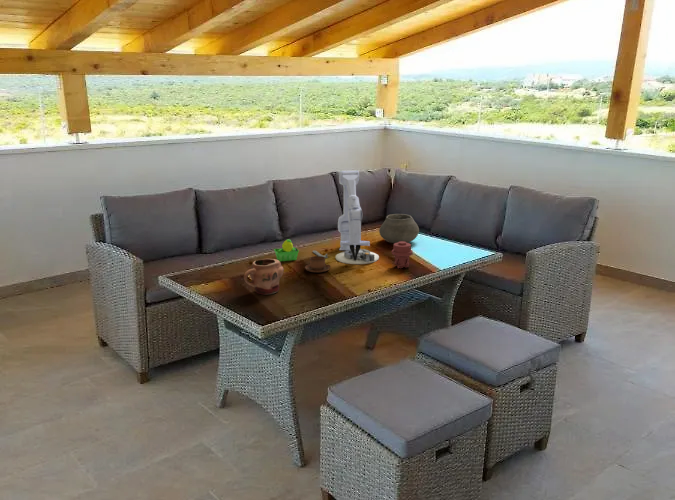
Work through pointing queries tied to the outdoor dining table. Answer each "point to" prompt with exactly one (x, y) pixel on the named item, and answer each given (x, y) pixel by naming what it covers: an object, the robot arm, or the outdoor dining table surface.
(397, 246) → the mechanical component
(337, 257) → the white round disc
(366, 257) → the grey block crown
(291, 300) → the outdoor dining table surface
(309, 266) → the cup and saucer
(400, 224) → the clay pot
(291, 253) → the fruit basket
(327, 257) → the pin spanner
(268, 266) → the decorative planter
